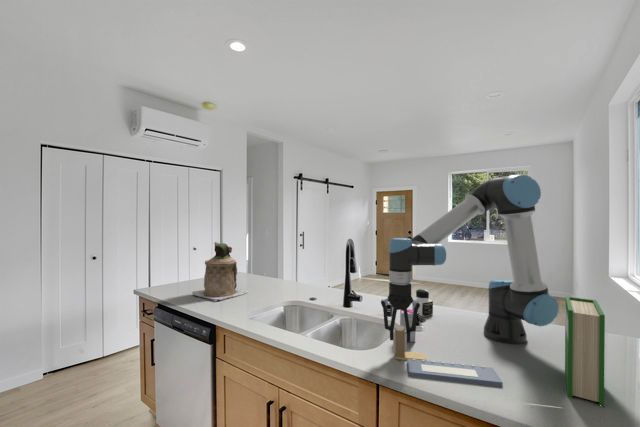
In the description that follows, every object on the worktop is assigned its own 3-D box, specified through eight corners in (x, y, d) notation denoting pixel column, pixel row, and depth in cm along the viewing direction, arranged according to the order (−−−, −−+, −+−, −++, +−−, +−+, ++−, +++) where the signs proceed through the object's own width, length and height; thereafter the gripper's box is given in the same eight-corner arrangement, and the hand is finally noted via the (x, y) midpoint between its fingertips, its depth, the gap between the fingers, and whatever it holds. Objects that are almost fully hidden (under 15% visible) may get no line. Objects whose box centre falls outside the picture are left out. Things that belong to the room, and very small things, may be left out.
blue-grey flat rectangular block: (492, 372, 100) (492, 366, 100) (502, 387, 91) (502, 381, 91) (407, 363, 105) (407, 358, 105) (409, 376, 97) (409, 371, 97)
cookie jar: (217, 302, 175) (217, 245, 175) (190, 296, 189) (190, 242, 188) (249, 293, 196) (250, 241, 196) (223, 287, 209) (223, 239, 209)
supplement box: (415, 343, 121) (416, 314, 121) (400, 342, 123) (400, 312, 123) (414, 337, 127) (414, 309, 127) (399, 336, 128) (399, 308, 128)
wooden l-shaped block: (424, 355, 111) (424, 327, 110) (426, 362, 106) (426, 332, 106) (395, 352, 113) (395, 325, 113) (395, 359, 108) (395, 330, 108)
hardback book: (604, 407, 82) (604, 315, 82) (567, 397, 86) (568, 309, 86) (595, 378, 96) (596, 300, 96) (564, 371, 101) (565, 296, 101)
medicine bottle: (422, 317, 152) (422, 292, 152) (411, 313, 159) (411, 289, 159) (433, 315, 156) (433, 290, 155) (422, 311, 162) (422, 287, 162)
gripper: (376, 283, 108) (375, 352, 108) (425, 286, 104) (425, 357, 105) (377, 279, 115) (376, 343, 115) (423, 281, 112) (422, 347, 112)
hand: (399, 349), depth 110 cm, fingers closed on wooden l-shaped block, 3 cm apart
